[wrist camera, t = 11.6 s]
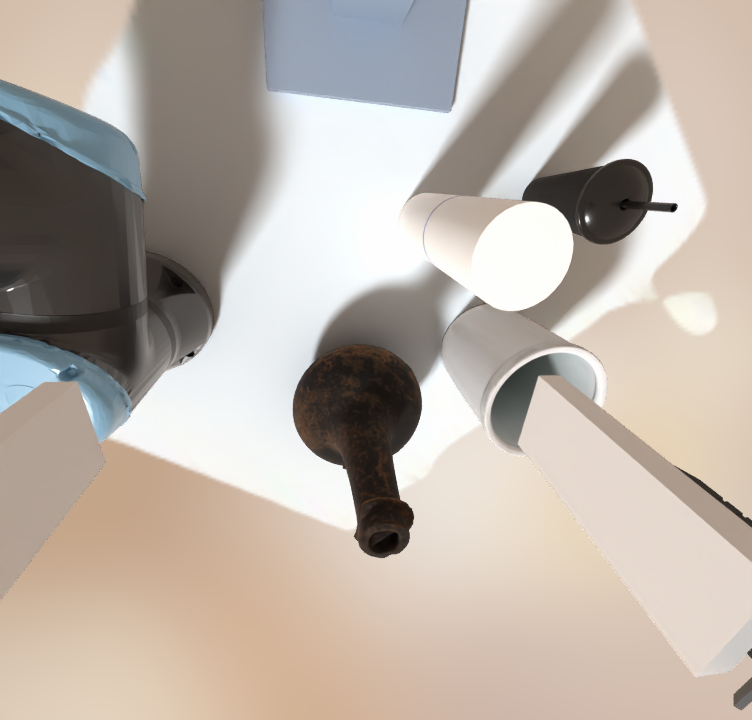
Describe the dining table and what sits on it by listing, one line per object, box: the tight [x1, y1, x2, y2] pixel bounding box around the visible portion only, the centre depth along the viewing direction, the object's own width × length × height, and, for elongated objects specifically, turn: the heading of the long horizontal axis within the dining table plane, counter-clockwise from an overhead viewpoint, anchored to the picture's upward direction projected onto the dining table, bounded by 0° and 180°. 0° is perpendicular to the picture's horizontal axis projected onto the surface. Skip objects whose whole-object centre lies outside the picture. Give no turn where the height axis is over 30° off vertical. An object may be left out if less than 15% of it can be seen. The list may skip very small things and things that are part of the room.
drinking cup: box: [522, 159, 678, 245], centre depth 37 cm, size 8×8×20 cm
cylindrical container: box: [398, 193, 573, 311], centre depth 35 cm, size 7×7×25 cm
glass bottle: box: [293, 344, 422, 558], centre depth 43 cm, size 18×18×28 cm
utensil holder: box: [441, 304, 607, 457], centre depth 47 cm, size 15×15×18 cm
